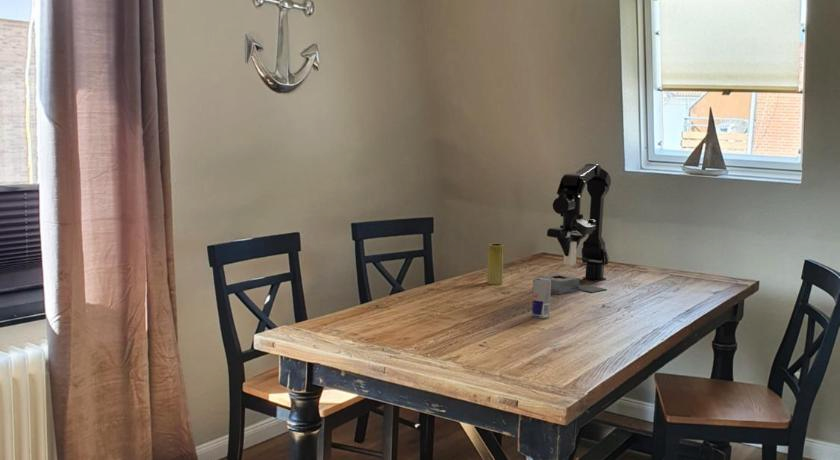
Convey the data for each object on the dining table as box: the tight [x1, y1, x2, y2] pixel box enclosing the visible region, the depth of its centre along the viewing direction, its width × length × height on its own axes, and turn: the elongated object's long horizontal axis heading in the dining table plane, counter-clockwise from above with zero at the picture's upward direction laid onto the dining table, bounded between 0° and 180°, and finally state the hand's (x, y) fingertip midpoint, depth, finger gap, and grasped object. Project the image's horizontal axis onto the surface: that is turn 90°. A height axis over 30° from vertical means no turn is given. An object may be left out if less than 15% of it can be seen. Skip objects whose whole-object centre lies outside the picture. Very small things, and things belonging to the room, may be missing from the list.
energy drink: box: [531, 276, 552, 320], centre depth 264 cm, size 5×5×12 cm
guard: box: [539, 273, 580, 295], centre depth 303 cm, size 10×10×4 cm
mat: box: [579, 284, 608, 294], centre depth 304 cm, size 8×8×1 cm
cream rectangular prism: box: [563, 241, 578, 266], centre depth 298 cm, size 3×3×8 cm
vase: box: [486, 242, 504, 286], centre depth 311 cm, size 6×6×14 cm
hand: (569, 255), depth 298 cm, fingers closed on cream rectangular prism, 3 cm apart
